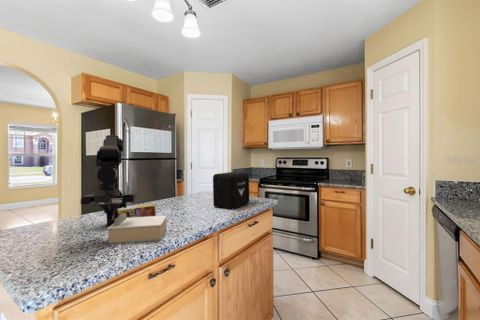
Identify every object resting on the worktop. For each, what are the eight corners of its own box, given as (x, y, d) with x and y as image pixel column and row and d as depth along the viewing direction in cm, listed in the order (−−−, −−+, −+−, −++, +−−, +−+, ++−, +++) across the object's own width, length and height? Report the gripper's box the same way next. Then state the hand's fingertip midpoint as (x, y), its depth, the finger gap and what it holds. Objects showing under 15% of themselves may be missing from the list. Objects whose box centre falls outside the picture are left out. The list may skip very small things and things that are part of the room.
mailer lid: (107, 229, 83) (106, 221, 83) (120, 219, 97) (120, 212, 97) (160, 226, 86) (160, 218, 86) (167, 216, 99) (166, 209, 99)
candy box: (156, 224, 106) (118, 231, 98) (154, 222, 110) (118, 228, 102) (155, 205, 106) (118, 210, 98) (153, 203, 110) (117, 208, 102)
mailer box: (108, 243, 84) (108, 229, 84) (121, 232, 97) (121, 220, 96) (160, 240, 86) (160, 226, 86) (166, 229, 99) (166, 217, 99)
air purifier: (233, 210, 132) (232, 175, 131) (213, 207, 139) (212, 174, 139) (251, 203, 148) (250, 172, 148) (232, 201, 156) (231, 172, 156)
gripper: (71, 183, 80) (72, 228, 81) (128, 181, 83) (129, 225, 83) (87, 180, 91) (89, 219, 92) (137, 178, 94) (138, 217, 94)
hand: (111, 220), depth 90 cm, fingers closed
